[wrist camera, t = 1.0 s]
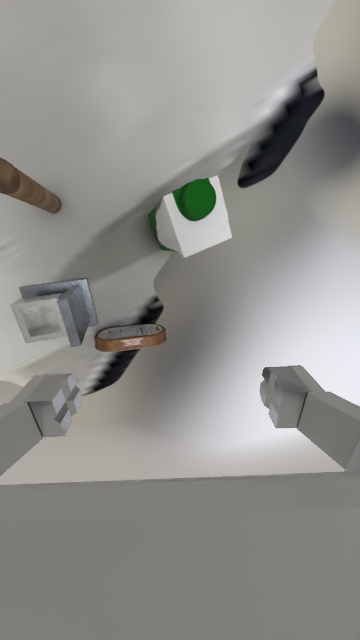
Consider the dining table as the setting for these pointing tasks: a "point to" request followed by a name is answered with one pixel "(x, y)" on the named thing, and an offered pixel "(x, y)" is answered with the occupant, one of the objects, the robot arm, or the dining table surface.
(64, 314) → the bracket
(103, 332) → the tin
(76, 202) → the dining table surface
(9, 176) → the brown wooden rod
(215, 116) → the dining table surface
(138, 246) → the dining table surface
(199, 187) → the milk carton
